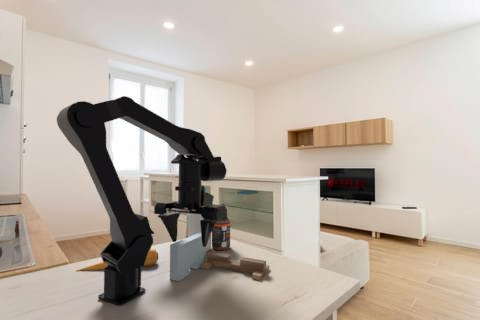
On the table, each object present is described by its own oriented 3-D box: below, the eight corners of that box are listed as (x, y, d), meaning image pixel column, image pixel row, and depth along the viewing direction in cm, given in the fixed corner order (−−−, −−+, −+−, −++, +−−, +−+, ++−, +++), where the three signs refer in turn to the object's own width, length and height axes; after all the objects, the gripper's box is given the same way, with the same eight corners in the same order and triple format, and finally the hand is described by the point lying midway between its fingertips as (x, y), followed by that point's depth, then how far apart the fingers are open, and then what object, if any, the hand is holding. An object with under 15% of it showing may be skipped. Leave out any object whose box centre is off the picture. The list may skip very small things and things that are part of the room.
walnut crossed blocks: (259, 280, 60) (259, 267, 60) (201, 268, 67) (201, 256, 67) (269, 269, 66) (269, 257, 66) (215, 259, 73) (215, 248, 73)
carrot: (159, 265, 71) (158, 248, 73) (157, 264, 67) (156, 246, 69) (77, 280, 66) (78, 261, 67) (70, 281, 62) (71, 261, 63)
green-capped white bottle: (215, 248, 83) (216, 185, 83) (199, 255, 76) (200, 187, 77) (197, 244, 87) (198, 184, 87) (180, 250, 80) (181, 186, 81)
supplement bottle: (229, 251, 80) (229, 214, 80) (210, 251, 80) (210, 214, 80) (230, 244, 86) (230, 211, 86) (212, 244, 86) (213, 210, 86)
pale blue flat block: (178, 281, 59) (178, 246, 59) (169, 279, 60) (170, 244, 60) (206, 263, 70) (206, 233, 70) (198, 261, 71) (199, 232, 71)
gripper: (236, 181, 69) (236, 240, 69) (180, 179, 77) (179, 232, 76) (215, 184, 59) (215, 253, 59) (153, 181, 67) (152, 242, 66)
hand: (189, 243), depth 65 cm, fingers open, 9 cm apart
